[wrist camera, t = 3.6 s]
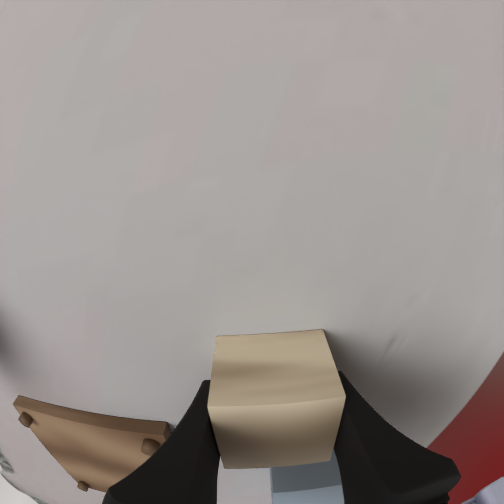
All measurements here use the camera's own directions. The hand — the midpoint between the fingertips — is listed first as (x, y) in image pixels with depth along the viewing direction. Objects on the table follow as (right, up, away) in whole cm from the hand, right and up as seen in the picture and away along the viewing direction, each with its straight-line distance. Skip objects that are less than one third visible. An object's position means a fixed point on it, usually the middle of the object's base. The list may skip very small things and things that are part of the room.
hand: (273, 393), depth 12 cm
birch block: (0, +1, +1) cm, 1 cm away
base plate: (-11, -10, +5) cm, 16 cm away
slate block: (+2, -7, +4) cm, 8 cm away
